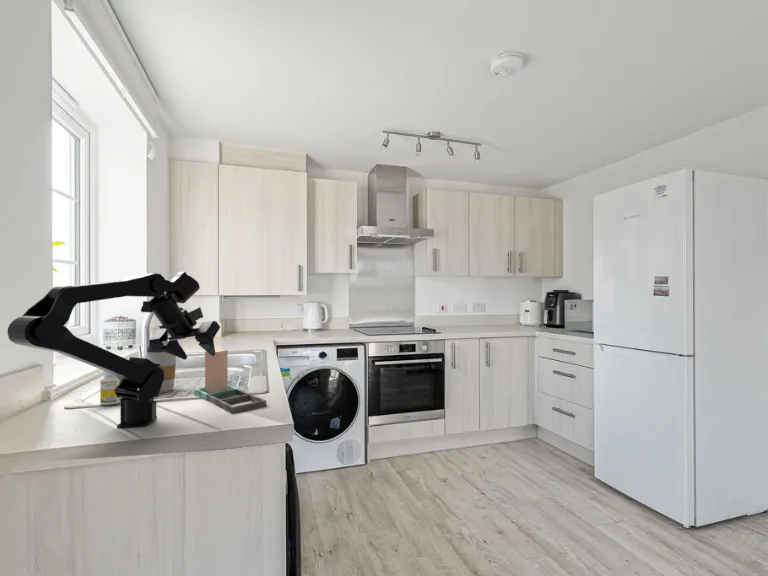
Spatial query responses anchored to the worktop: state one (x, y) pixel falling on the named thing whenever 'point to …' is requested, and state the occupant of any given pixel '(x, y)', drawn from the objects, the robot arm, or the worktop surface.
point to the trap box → (232, 399)
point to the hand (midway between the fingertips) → (200, 356)
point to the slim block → (216, 371)
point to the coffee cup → (164, 367)
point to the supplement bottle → (109, 389)
